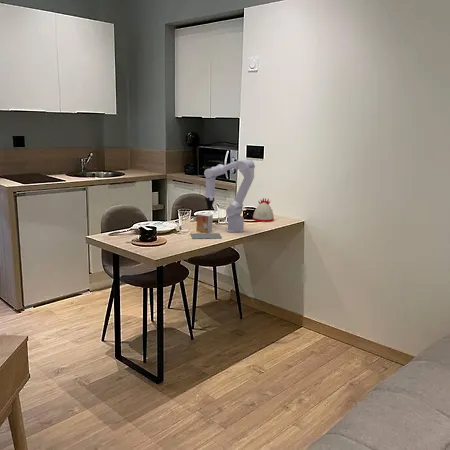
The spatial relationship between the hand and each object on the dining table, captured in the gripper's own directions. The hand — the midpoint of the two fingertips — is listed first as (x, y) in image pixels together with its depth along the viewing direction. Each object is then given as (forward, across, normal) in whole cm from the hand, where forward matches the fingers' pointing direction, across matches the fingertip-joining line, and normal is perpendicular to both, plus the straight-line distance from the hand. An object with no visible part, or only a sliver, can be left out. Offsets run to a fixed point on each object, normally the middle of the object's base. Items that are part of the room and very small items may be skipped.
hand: (209, 209), depth 295 cm
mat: (+10, +24, -5) cm, 27 cm away
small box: (+11, +13, -4) cm, 17 cm away
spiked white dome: (+11, -17, +39) cm, 44 cm away
